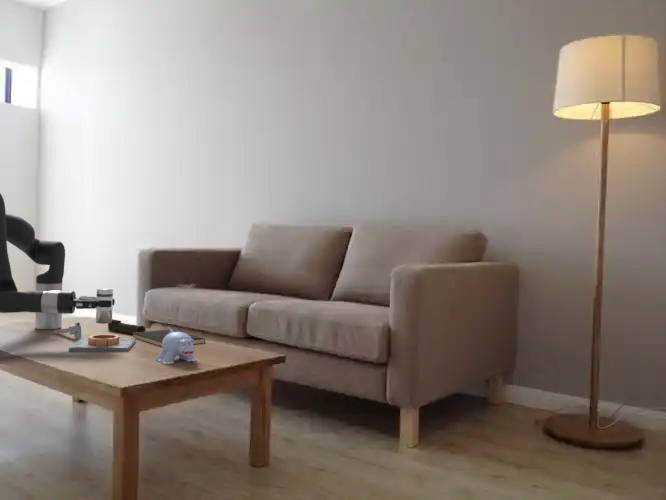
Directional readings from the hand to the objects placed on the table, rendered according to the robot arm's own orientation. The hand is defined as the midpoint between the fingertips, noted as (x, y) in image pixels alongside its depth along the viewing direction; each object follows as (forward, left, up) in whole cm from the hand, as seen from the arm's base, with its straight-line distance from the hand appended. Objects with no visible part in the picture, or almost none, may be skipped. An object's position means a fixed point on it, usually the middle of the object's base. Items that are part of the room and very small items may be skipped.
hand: (112, 303), depth 214 cm
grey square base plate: (0, -3, -14) cm, 15 cm away
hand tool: (-27, 0, -15) cm, 31 cm away
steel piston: (0, -3, -6) cm, 7 cm away
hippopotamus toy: (+24, +23, -15) cm, 37 cm away
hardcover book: (-12, +17, -15) cm, 26 cm away
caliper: (-19, -19, -15) cm, 31 cm away
